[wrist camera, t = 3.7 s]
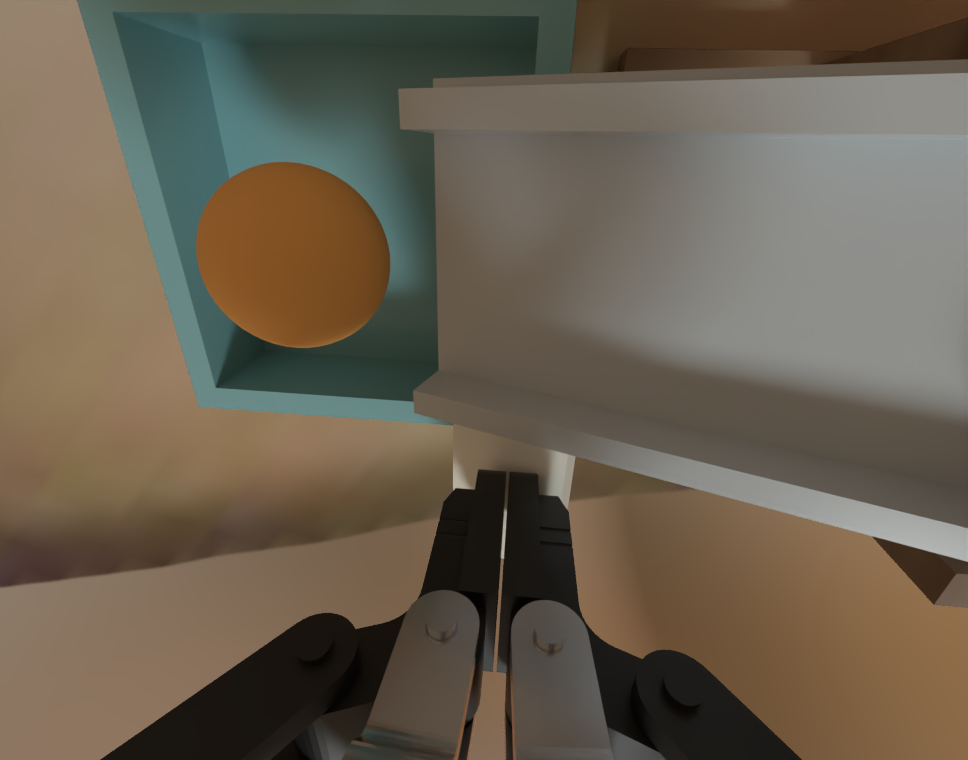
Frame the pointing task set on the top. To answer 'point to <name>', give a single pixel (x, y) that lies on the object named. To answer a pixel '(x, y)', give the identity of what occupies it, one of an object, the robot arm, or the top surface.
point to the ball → (293, 254)
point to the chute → (711, 284)
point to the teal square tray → (303, 160)
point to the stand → (953, 41)
